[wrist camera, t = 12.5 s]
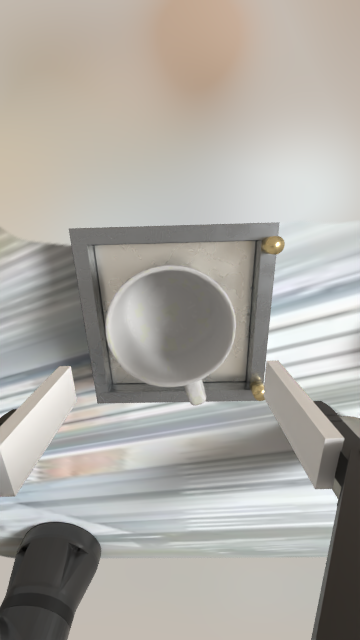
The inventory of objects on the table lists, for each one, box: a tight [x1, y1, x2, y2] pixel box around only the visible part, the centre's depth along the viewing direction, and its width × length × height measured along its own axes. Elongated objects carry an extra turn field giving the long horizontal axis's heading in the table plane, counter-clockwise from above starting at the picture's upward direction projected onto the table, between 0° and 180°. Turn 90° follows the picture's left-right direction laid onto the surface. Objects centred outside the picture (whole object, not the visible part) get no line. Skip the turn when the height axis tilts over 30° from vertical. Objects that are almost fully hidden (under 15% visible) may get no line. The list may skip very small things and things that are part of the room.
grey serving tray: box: [69, 223, 284, 403], centre depth 28 cm, size 20×20×7 cm
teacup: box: [105, 264, 236, 405], centre depth 24 cm, size 14×11×8 cm
